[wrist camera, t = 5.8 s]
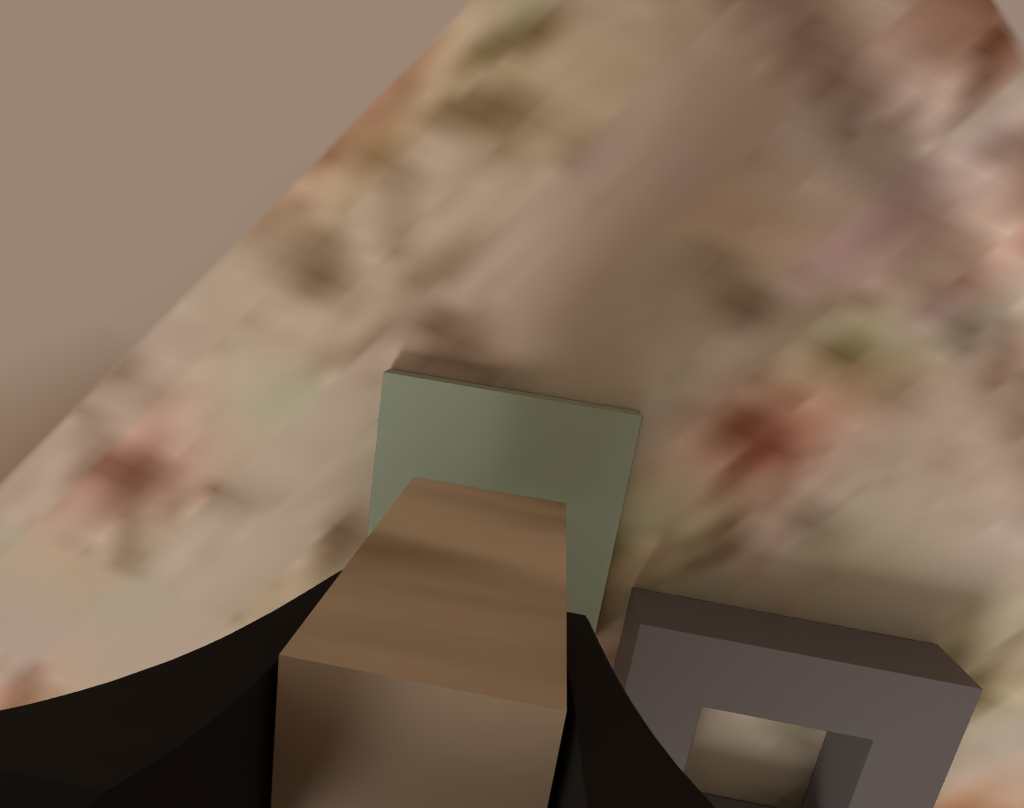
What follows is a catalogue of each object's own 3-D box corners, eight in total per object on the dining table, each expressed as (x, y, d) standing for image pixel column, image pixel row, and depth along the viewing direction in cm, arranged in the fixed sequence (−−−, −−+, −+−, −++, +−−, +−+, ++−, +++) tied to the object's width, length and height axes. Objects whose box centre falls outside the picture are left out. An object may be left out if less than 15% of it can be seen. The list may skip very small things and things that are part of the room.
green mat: (591, 633, 19) (592, 644, 19) (366, 590, 20) (360, 599, 19) (639, 411, 17) (642, 416, 17) (389, 369, 18) (383, 371, 17)
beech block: (541, 637, 15) (521, 931, 8) (399, 610, 15) (267, 875, 9) (566, 503, 14) (566, 710, 7) (414, 476, 14) (278, 654, 8)
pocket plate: (847, 877, 20) (877, 941, 18) (578, 821, 21) (580, 877, 19) (937, 644, 18) (982, 689, 16) (632, 587, 19) (640, 624, 17)
